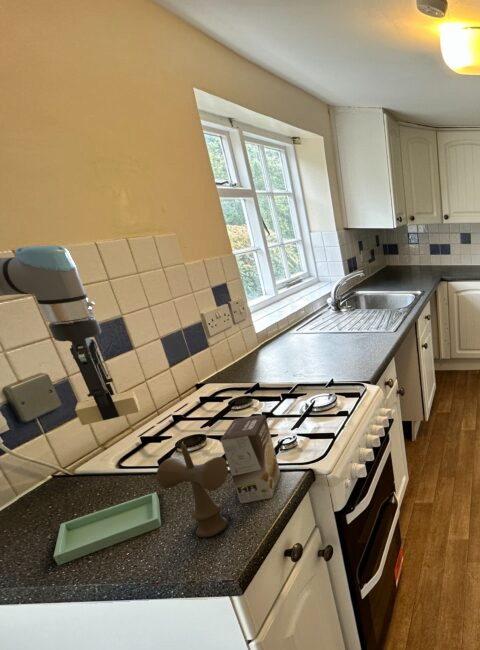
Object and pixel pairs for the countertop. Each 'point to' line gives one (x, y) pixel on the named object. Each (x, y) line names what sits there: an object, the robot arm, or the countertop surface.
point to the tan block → (123, 404)
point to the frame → (107, 528)
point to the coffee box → (251, 458)
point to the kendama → (198, 488)
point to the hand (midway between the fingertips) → (111, 413)
